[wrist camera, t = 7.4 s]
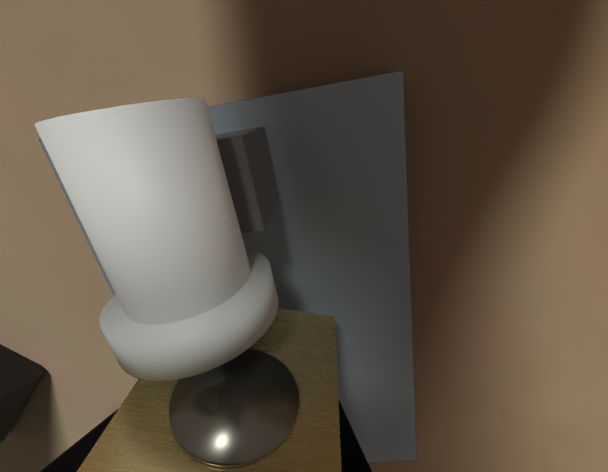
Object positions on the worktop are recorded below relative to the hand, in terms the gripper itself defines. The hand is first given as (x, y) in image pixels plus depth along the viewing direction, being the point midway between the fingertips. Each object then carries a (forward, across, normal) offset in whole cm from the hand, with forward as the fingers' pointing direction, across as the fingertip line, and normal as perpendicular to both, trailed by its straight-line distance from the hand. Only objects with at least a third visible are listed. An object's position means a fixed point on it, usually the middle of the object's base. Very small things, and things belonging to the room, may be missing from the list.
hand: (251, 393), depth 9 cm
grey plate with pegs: (+4, 0, 0) cm, 4 cm away
